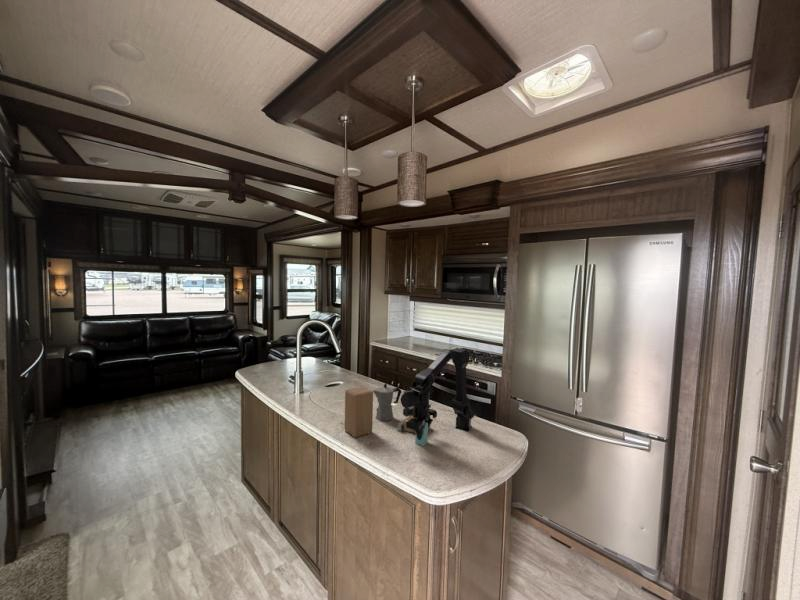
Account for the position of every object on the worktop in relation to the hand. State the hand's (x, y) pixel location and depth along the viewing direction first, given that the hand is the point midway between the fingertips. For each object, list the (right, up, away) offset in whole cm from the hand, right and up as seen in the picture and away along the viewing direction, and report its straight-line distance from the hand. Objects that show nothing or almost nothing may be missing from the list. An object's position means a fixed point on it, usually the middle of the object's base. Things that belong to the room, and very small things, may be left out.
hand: (421, 437), depth 141 cm
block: (-29, -2, +10) cm, 31 cm away
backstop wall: (-6, -2, +17) cm, 18 cm away
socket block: (-1, -2, +14) cm, 14 cm away
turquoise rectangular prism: (0, -3, 0) cm, 2 cm away
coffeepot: (-17, -1, +27) cm, 31 cm away
